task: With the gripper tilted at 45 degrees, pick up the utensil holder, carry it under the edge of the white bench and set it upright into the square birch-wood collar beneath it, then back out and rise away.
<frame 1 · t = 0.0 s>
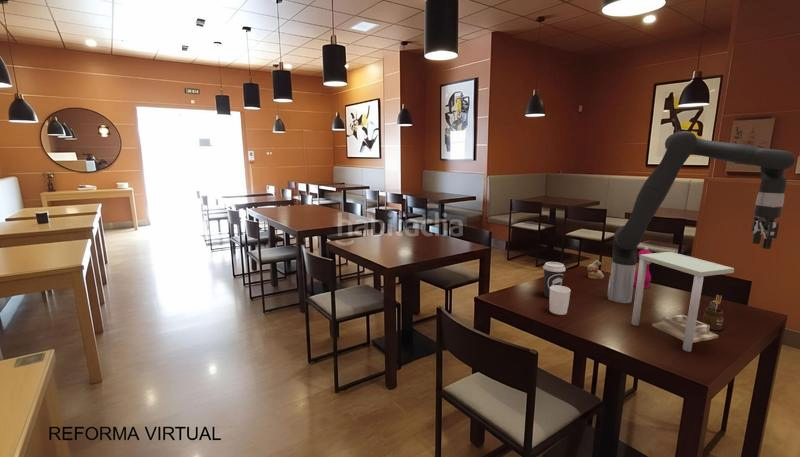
hand: (760, 246, 147), 29 cm above the table, tool pointing down, fingers open, 8 cm apart
pepper mill: (641, 286, 188), on the table
utensil holder: (711, 327, 144), on the table
socket block: (684, 331, 140), on the table
chocolate bunny: (595, 277, 201), on the table
white cup: (558, 312, 158), on the table
coffee cup: (551, 296, 175), on the table
white bench: (684, 331, 140), on the table
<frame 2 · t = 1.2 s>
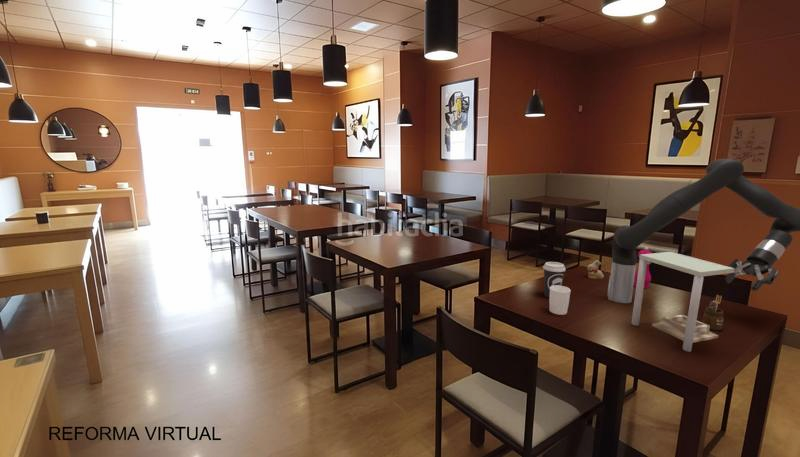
hand: (739, 285, 144), 15 cm above the table, tool tilted 45°, fingers open, 8 cm apart
nothing on the table moved.
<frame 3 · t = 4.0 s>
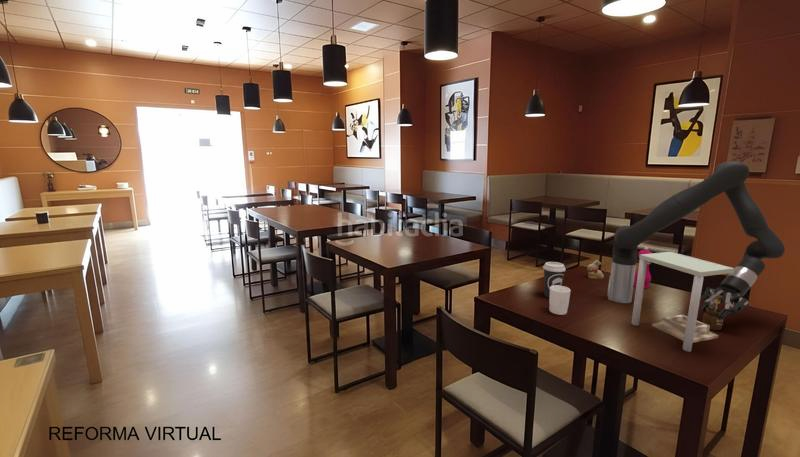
hand: (710, 314, 142), 5 cm above the table, tool tilted 45°, fingers closed on utensil holder, 5 cm apart
utensil holder: (711, 327, 144), on the table, touching gripper
everything else where it was.
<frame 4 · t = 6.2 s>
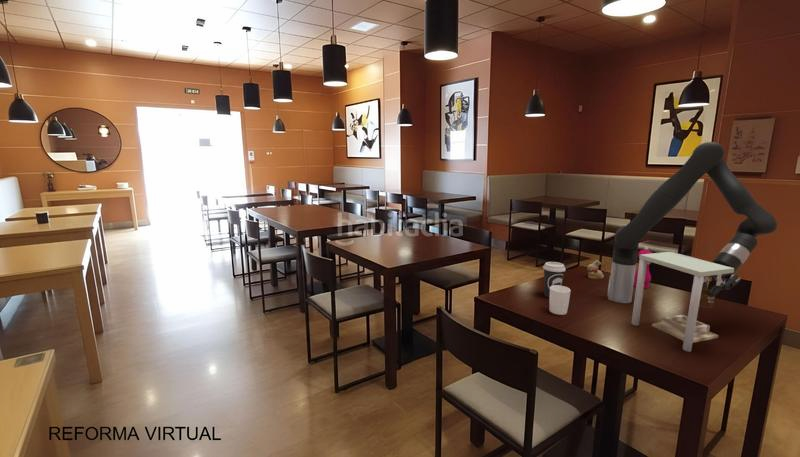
hand: (702, 292, 139), 15 cm above the table, tool tilted 45°, fingers closed on utensil holder, 5 cm apart
utensil holder: (702, 305, 141), point 9 cm above the table, touching gripper
everything else where it was.
when the fingers open (8 cm above the table, at t = 8.7 s): utensil holder drops 1 cm, resting on socket block.
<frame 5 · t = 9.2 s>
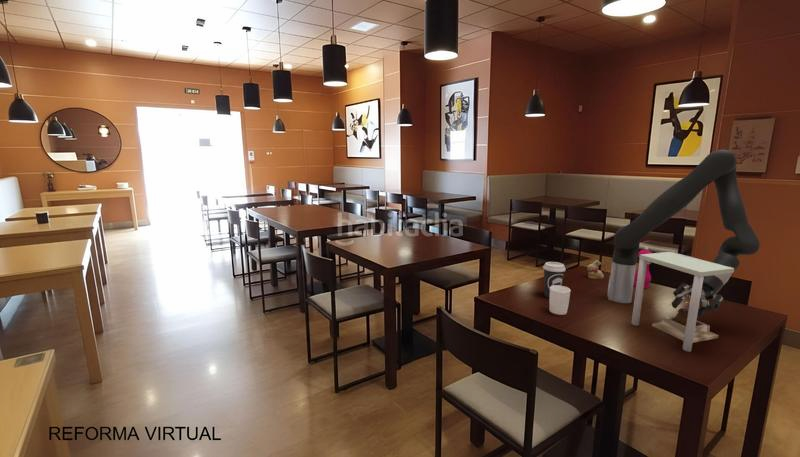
hand: (684, 311, 138), 8 cm above the table, tool tilted 45°, fingers open, 8 cm apart
utensil holder: (684, 329, 140), point 1 cm above the table, touching socket block
everything else where it was.
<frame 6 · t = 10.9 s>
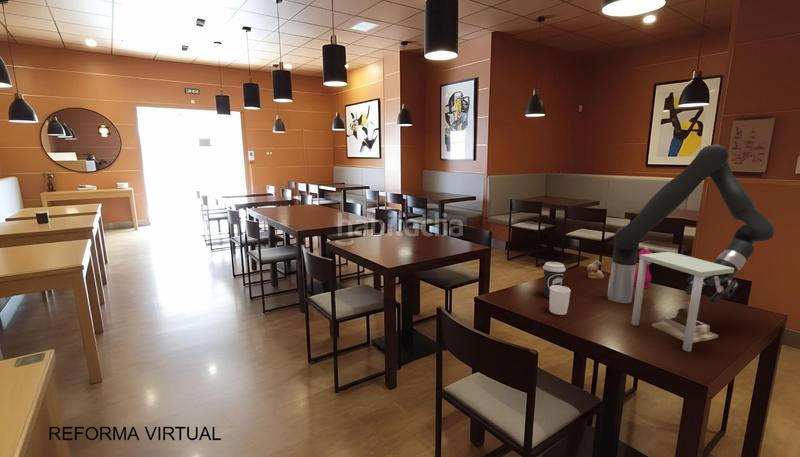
hand: (699, 297, 139), 13 cm above the table, tool tilted 45°, fingers open, 8 cm apart
nothing on the table moved.
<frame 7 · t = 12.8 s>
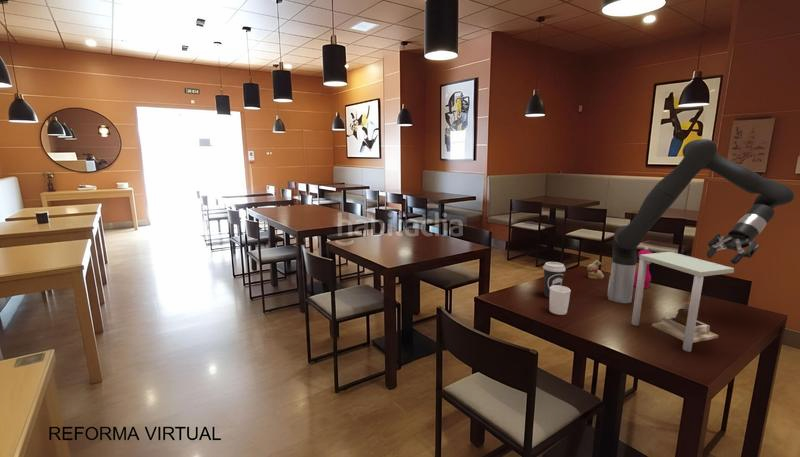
hand: (720, 259, 143), 25 cm above the table, tool tilted 45°, fingers open, 8 cm apart
nothing on the table moved.
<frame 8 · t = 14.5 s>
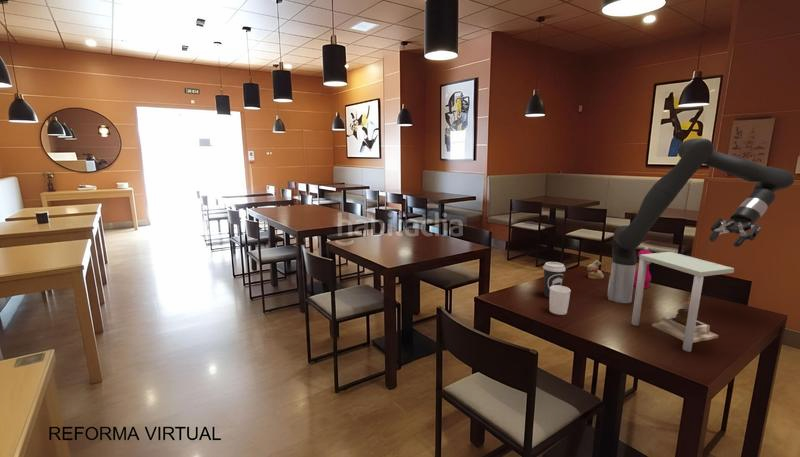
hand: (723, 243, 146), 31 cm above the table, tool tilted 45°, fingers open, 8 cm apart
nothing on the table moved.
at the end: utensil holder 0.3 cm off-centre on the socket block, point 0.8 cm above the socket block's base; utensil holder tilted 0°; the gripper is holding nothing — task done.
